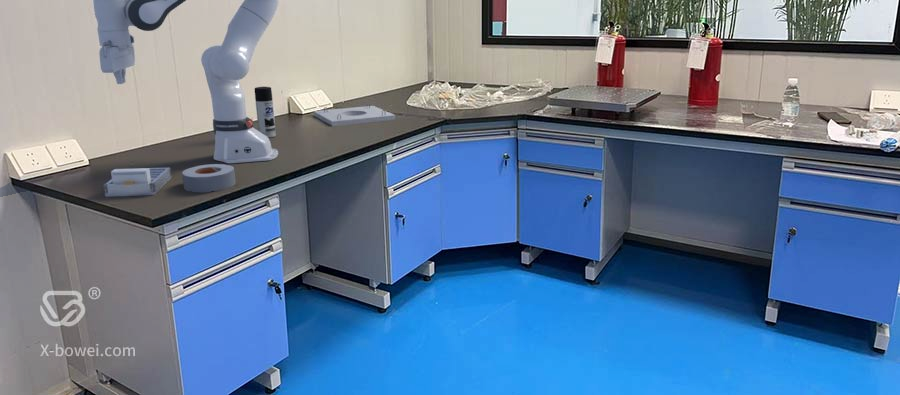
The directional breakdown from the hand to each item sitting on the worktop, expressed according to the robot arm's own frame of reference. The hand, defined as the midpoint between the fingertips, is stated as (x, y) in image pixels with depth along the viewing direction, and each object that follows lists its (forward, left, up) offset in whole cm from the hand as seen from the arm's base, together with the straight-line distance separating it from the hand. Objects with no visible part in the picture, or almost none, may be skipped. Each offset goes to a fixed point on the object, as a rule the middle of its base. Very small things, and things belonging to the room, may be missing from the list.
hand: (121, 83), depth 214 cm
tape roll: (-29, +20, -30) cm, 46 cm away
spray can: (-37, -46, -29) cm, 66 cm away
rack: (-8, +20, -29) cm, 36 cm away
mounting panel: (-71, -81, -30) cm, 112 cm away
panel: (-8, +25, -28) cm, 39 cm away
